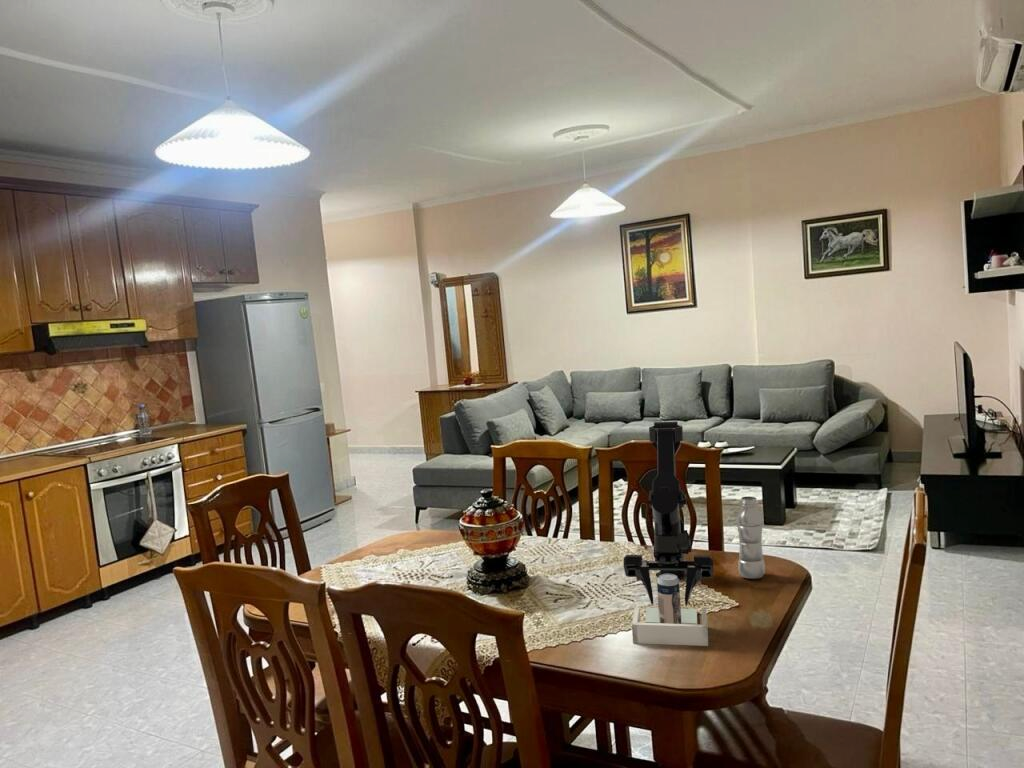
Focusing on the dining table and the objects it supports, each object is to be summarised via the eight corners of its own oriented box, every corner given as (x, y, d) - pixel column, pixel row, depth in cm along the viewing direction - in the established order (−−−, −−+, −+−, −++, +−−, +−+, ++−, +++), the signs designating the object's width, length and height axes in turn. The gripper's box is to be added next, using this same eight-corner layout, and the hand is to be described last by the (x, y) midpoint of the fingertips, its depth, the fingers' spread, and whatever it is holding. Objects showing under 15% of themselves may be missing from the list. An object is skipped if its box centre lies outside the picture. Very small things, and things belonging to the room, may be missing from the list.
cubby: (635, 624, 160) (634, 606, 159) (707, 626, 156) (706, 608, 156) (632, 643, 151) (631, 624, 151) (708, 645, 147) (707, 626, 147)
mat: (646, 610, 167) (646, 607, 167) (696, 611, 164) (696, 609, 164) (645, 624, 159) (645, 621, 159) (697, 626, 157) (697, 623, 157)
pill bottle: (682, 637, 152) (679, 581, 151) (659, 636, 153) (656, 581, 152) (682, 627, 157) (679, 572, 156) (659, 626, 158) (656, 572, 157)
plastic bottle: (738, 581, 180) (735, 501, 178) (738, 571, 186) (735, 494, 185) (766, 582, 178) (763, 502, 176) (765, 572, 185) (762, 494, 183)
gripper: (621, 518, 159) (620, 587, 149) (710, 518, 154) (715, 589, 145) (626, 542, 167) (625, 609, 157) (711, 543, 163) (715, 611, 153)
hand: (669, 604), depth 153 cm, fingers open, 7 cm apart
